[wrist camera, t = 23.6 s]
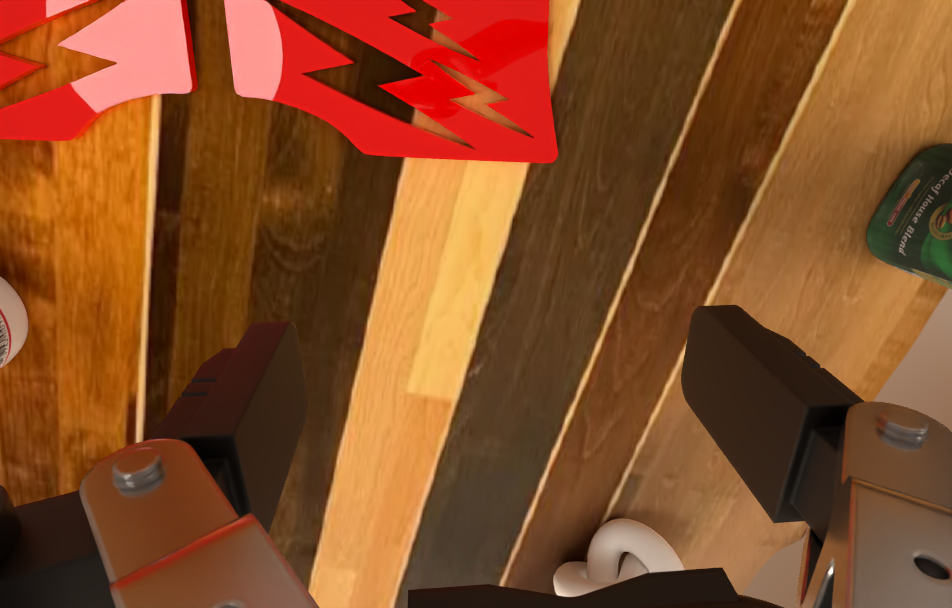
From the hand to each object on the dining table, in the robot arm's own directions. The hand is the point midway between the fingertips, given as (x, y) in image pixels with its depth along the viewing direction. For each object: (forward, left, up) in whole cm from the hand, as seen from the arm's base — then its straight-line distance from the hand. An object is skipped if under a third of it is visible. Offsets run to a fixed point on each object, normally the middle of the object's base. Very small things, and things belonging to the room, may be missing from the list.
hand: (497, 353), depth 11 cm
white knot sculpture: (+14, +41, -30) cm, 53 cm away
